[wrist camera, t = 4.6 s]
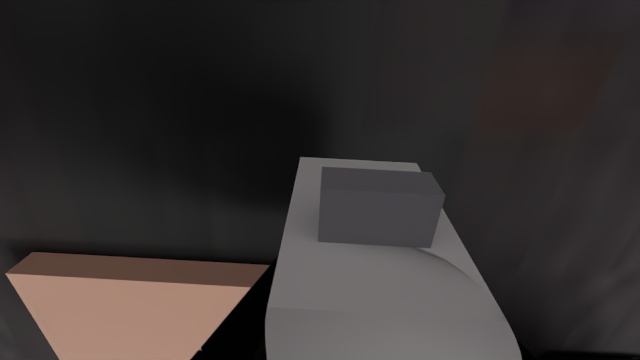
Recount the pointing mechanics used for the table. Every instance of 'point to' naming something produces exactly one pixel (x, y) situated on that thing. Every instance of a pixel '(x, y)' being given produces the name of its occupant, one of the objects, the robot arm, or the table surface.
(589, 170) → the table surface
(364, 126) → the table surface
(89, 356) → the terracotta tile
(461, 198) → the table surface
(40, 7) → the table surface
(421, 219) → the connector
